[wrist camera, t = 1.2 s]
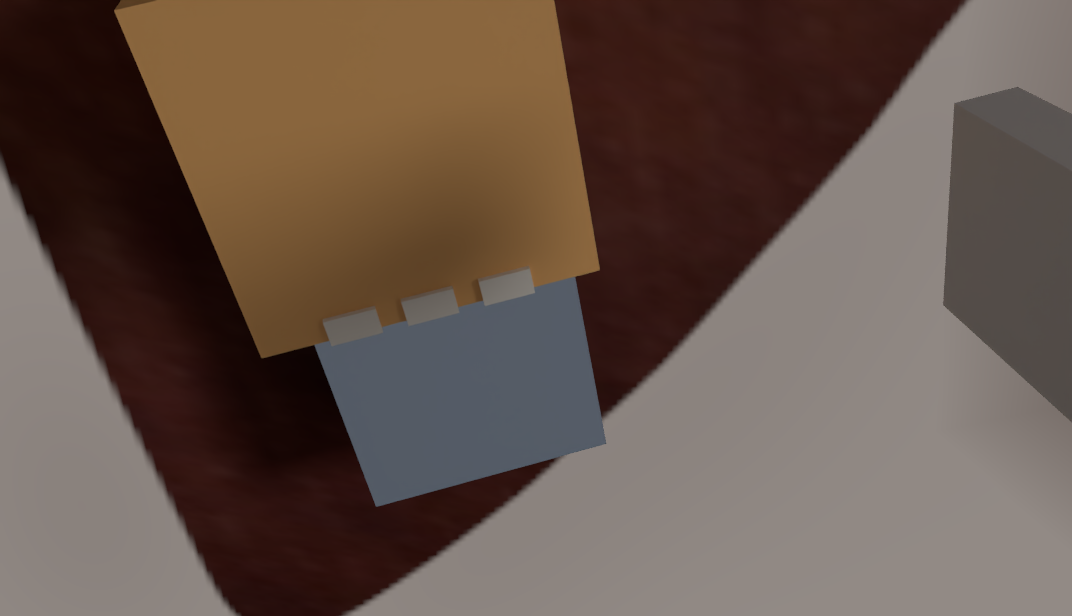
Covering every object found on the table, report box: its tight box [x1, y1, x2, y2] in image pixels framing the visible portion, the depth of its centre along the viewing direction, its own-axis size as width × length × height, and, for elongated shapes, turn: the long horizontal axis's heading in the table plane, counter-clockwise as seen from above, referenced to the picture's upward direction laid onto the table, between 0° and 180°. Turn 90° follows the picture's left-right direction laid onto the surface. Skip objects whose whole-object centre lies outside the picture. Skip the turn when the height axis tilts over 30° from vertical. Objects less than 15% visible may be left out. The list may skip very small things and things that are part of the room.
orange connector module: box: [114, 0, 600, 358], centre depth 19 cm, size 6×6×11 cm
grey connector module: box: [315, 277, 606, 507], centre depth 27 cm, size 10×7×4 cm
